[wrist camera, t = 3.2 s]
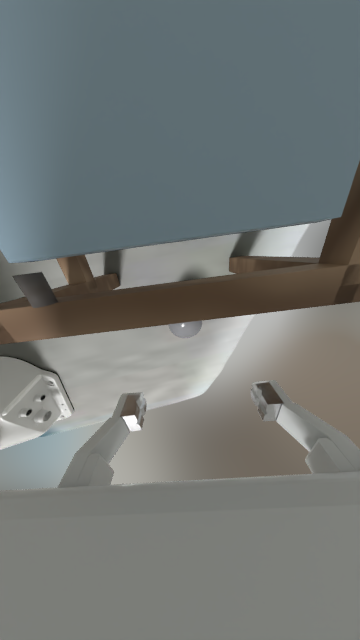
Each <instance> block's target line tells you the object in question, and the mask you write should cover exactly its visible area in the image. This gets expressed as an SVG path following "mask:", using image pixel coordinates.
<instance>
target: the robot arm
mask: <svg viewBox="0 0 360 640" xmlns="http://www.w3.org/2000/svg"><path fill="white" fill-rule="evenodd" d="M252 387H253V388H252V389H251V397H252V400H253V402H254V404H255V405H256V406H258V412H259V414H260V416H261V418H262V420H263V421H277V422H278V423H279V424H280V425H281V426H282V427H283V428H284V429H285V430H286V431H288V432H289V433H290V434H291V435H292V436H293V437H294V438H295V439H296V440H297V441H298V442H299V443H301V444H302V445H303V446H304V447H305V448H306V449H307V450H308V451H309V454H308V455H307V457H306V459H305V461H306V463H307V465H308V467H309V468H310V470H311V472H312V473H313V474H301V475H282V476H264V477H246V478H227V479H208V480H192V481H172V482H153V483H136V484H116V485H110V484H111V481H112V477H113V474H114V471H113V469H112V468H111V467H110V466H109V462H110V461H111V459H112V458H113V457H114V455H115V454H116V452H117V451H118V449H119V448H120V446H121V445H122V443H123V442H124V440H125V439H126V437H127V436H128V434H129V433H130V431H137V430H142V427H143V422H144V418H143V415H144V414H145V412H146V399H145V398H143V397H144V394H143V392H141V393H126V394H122V395H121V397H120V399H119V401H118V404H117V406H116V409H115V411H114V414H113V416H112V418H109V419H108V420H107V421H106V422H105V423H104V424H103V425H102V426H101V427H100V429H99V430H98V431H97V432H96V433H95V434H94V435H93V436H92V437H91V438H90V439H89V440H88V441H87V442H86V443H85V444H84V445H83V446H82V447H81V448H80V449H79V450H78V451H77V453H75V455H74V457H73V459H72V461H71V463H70V465H69V467H68V469H67V471H66V473H65V474H64V476H63V478H62V480H61V482H60V484H59V486H58V488H43V489H25V490H6V491H0V640H360V450H359V448H358V447H357V446H356V445H355V444H354V443H353V442H352V441H351V440H350V439H349V438H348V437H347V436H346V435H345V434H343V433H342V432H340V431H338V430H337V429H335V428H334V427H332V426H330V425H329V424H327V423H326V422H324V421H323V420H321V419H319V418H318V417H317V416H315V415H314V414H312V413H310V412H309V411H307V410H306V409H304V408H302V407H301V406H300V405H298V404H296V403H293V402H292V401H291V400H290V398H289V397H288V396H287V394H286V393H285V392H284V390H283V389H282V388H281V387H280V386H279V384H278V383H277V382H276V381H274V380H273V381H261V382H253V383H252ZM73 412H74V410H73V408H72V406H71V403H70V401H69V399H68V397H67V395H66V393H65V390H64V388H63V386H62V384H61V382H60V380H59V377H58V376H57V375H56V374H54V373H52V372H49V371H45V370H42V369H39V368H37V367H35V366H33V365H32V364H29V363H27V362H25V361H22V360H19V359H15V358H10V357H0V450H1V449H4V448H7V447H10V446H13V445H16V444H19V443H22V442H25V441H28V440H31V439H34V438H36V437H39V436H40V435H42V434H43V433H45V432H46V431H47V430H48V429H49V428H50V427H51V426H52V425H53V424H54V422H55V421H57V420H62V419H65V418H67V417H69V416H71V415H72V413H73Z"/></svg>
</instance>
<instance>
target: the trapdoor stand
mask: <svg viewBox="0 0 360 640" xmlns="http://www.w3.org/2000/svg"><path fill="white" fill-rule="evenodd" d="M56 259H57V261H58V263H59V265H60V267H61V269H62V271H63V273H64V275H65V277H66V280H67V282H68V284H69V285H66V286H62V287H58V288H55V289H51V288H50V286H49V284H48V282H47V280H46V279H45V277H44V275H43V273H42V272H39V273H31V274H24V275H17V276H13V278H14V280H15V281H16V283H17V284H18V286H19V287H20V289H21V290H22V292H23V293H24V295H25V296H26V297H22V298H19V299H15V300H12V301H8V302H4V303H1V304H0V344H9V343H17V342H25V341H34V340H42V339H50V338H59V337H67V336H76V335H84V334H92V333H101V332H109V331H117V330H126V329H134V328H142V327H151V326H159V325H168V324H176V323H184V322H193V321H201V320H209V319H218V318H226V317H235V316H243V315H251V314H260V313H267V312H276V311H285V310H293V309H301V308H310V307H318V306H327V305H335V304H343V303H352V302H359V301H360V161H359V164H358V167H357V170H356V173H355V176H354V179H353V182H352V185H351V188H350V191H349V194H348V197H347V201H346V204H345V207H344V210H343V213H342V216H341V217H339V218H334V219H332V220H331V223H330V226H329V230H328V233H327V236H326V240H325V243H324V246H323V249H322V253H321V256H320V258H309V257H307V258H306V257H266V256H239V257H231V258H229V271H230V272H233V273H236V274H233V275H225V276H217V277H210V278H202V279H194V280H187V281H179V282H172V283H164V284H156V285H149V286H141V287H134V288H126V289H118V290H113V289H115V288H117V287H119V286H120V284H119V280H118V277H117V274H116V273H114V274H106V275H102V276H98V277H93V275H92V272H91V270H90V267H89V265H88V262H87V260H86V257H85V255H78V256H71V257H64V258H56Z"/></svg>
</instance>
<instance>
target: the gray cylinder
mask: <svg viewBox="0 0 360 640" xmlns="http://www.w3.org/2000/svg"><path fill="white" fill-rule="evenodd" d="M201 326H202V320H201V321H193V322H184V323H176V324H169V328H170V330H171V332H172V333H173V334H174V335H176V336H178V337H181V338H189V337H192V336H194V335H196V334H197V333H198V332H199V331H200V329H201Z"/></svg>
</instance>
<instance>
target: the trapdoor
mask: <svg viewBox="0 0 360 640" xmlns="http://www.w3.org/2000/svg"><path fill="white" fill-rule="evenodd" d="M359 161H360V0H0V250H1V251H2V253H3V255H4V256H5V258H6V259H7V261H8V262H9V263H20V262H35V261H42V260H49V259H56V258H64V257H71V256H78V255H85V254H92V253H100V252H107V251H114V250H121V249H129V248H136V247H143V246H150V245H157V244H165V243H172V242H179V241H186V240H193V239H201V238H208V237H215V236H222V235H229V234H237V233H244V232H251V231H258V230H266V229H273V228H280V227H287V226H294V225H302V224H309V223H316V222H321V221H325V220H330V219H334V218H339V217H341V216H342V213H343V210H344V207H345V204H346V201H347V197H348V194H349V191H350V188H351V185H352V182H353V179H354V176H355V173H356V170H357V167H358V164H359Z"/></svg>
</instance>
